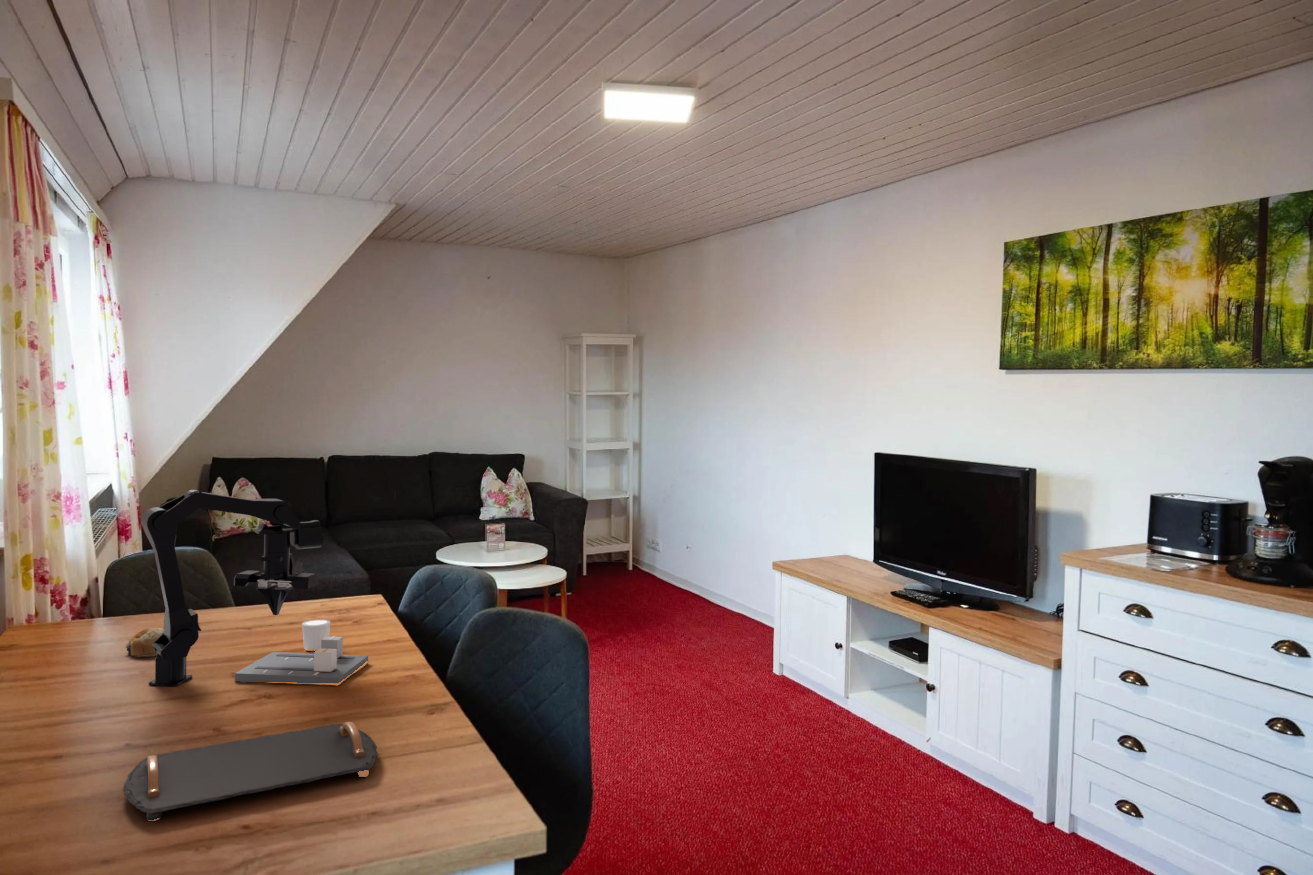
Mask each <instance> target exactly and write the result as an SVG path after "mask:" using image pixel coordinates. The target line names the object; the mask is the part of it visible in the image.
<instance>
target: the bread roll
mask: <svg viewBox="0 0 1313 875" xmlns="http://www.w3.org/2000/svg"><path fill="white" fill-rule="evenodd" d="M163 633H164V627H160V628H159V627H147V628H145V629H142V630H140V631H137V632H136V633H135V634H134V635H133V636H132V637H131V638H129V639H128V640H129V641H128V642H127V643H126V644H125V649H126V651H127V653H128V654H129V655H130V656H131V657H135V658H151V657H152V658H153V657H156V655H157V654H158V653H157V652H156V651H155V649H154V647H153V645H152V644H153V643H154V642H155V641H156V640H157V639H158V638H159V637H160V636H161V635H162V634H163Z"/></svg>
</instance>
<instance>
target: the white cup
mask: <svg viewBox="0 0 1313 875" xmlns="http://www.w3.org/2000/svg"><path fill="white" fill-rule="evenodd" d="M301 627H302V639H303V640H302V641H303V642H302V643H303V650H304V649H305V650H314V651H315V650H318V649H320V648H321V640H322V639H323V638H325V637H327V636H330V630H331V629H330V627H331V621H330V620H328V619H310V620H306V621H303V622H301ZM305 650H304V651H305Z"/></svg>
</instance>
